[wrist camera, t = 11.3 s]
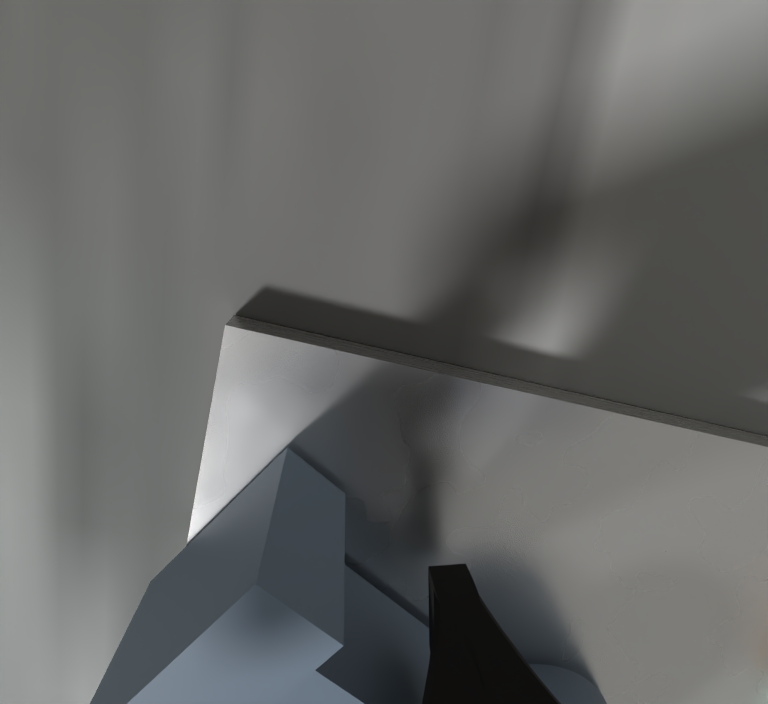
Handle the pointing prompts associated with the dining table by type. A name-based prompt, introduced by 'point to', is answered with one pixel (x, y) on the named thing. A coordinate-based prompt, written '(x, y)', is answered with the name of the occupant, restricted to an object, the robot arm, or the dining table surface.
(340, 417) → the plate
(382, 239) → the dining table surface
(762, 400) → the dining table surface
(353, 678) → the crank
